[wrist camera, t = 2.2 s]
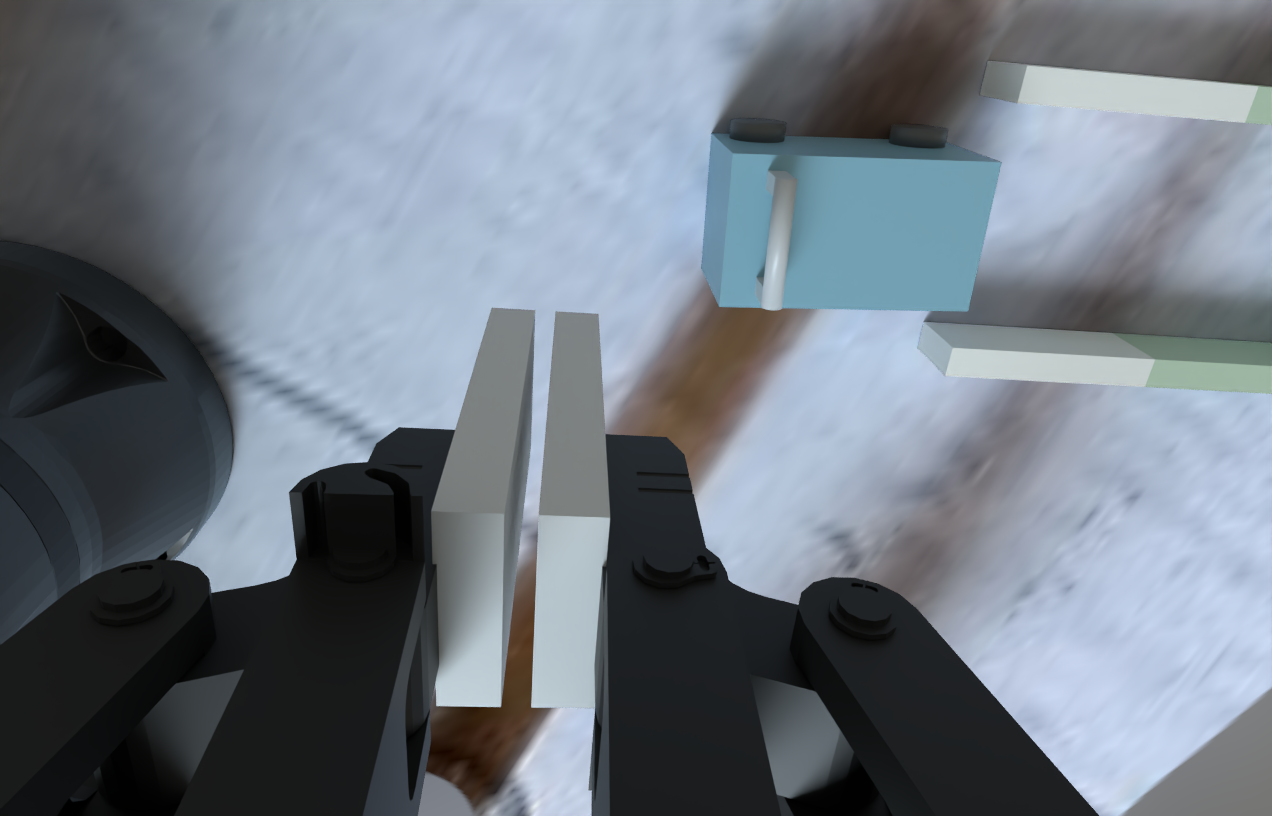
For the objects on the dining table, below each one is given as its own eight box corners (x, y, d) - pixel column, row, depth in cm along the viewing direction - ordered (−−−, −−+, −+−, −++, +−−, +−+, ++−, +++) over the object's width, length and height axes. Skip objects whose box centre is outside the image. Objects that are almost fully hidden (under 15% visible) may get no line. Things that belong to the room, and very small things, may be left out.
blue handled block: (699, 281, 34) (725, 340, 28) (712, 116, 31) (744, 141, 25) (914, 285, 34) (985, 344, 28) (945, 124, 32) (1032, 151, 26)
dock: (917, 348, 35) (955, 386, 32) (987, 60, 31) (1042, 67, 27) (1317, 370, 37) (1396, 409, 34) (1444, 101, 32) (1553, 113, 29)
